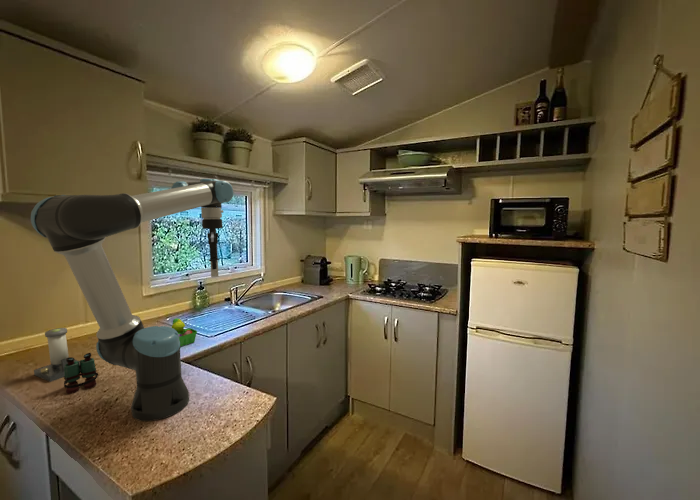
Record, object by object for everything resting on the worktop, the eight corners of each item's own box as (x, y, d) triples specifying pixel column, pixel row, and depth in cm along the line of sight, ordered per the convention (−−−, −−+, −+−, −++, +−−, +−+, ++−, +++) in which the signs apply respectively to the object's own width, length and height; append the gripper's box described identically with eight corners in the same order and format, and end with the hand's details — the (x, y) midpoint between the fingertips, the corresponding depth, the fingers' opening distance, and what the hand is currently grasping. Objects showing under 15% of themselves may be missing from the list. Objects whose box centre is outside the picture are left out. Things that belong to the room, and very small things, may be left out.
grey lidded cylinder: (54, 366, 116) (49, 334, 115) (45, 363, 119) (41, 331, 117) (74, 359, 122) (70, 328, 120) (65, 356, 124) (61, 326, 123)
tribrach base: (49, 382, 113) (48, 366, 113) (34, 375, 118) (32, 360, 117) (86, 368, 123) (85, 354, 123) (70, 362, 128) (69, 349, 127)
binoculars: (62, 370, 102) (61, 356, 109) (65, 400, 104) (64, 385, 111) (98, 361, 108) (95, 349, 115) (100, 390, 110) (97, 376, 117)
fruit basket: (172, 350, 140) (171, 324, 138) (163, 345, 145) (161, 320, 144) (198, 342, 149) (197, 318, 147) (188, 337, 154) (187, 314, 153)
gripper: (221, 218, 126) (224, 279, 129) (222, 218, 138) (224, 273, 141) (200, 218, 124) (203, 280, 126) (203, 218, 136) (205, 274, 138)
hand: (214, 276), depth 134 cm, fingers closed
